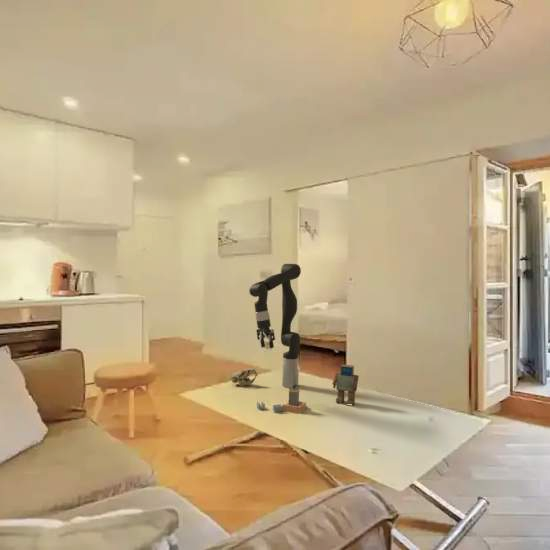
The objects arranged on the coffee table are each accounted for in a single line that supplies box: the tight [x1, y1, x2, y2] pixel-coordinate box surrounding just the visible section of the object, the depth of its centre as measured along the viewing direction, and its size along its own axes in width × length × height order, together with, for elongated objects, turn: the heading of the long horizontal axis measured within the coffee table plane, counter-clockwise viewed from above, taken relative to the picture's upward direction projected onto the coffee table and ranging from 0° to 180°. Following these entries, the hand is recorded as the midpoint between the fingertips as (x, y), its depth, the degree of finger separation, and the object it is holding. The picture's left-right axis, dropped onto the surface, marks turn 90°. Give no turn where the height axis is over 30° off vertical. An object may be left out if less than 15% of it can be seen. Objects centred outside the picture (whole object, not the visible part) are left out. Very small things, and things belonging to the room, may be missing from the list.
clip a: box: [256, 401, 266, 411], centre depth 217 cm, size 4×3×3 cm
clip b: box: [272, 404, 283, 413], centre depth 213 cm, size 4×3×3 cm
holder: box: [281, 399, 308, 414], centre depth 218 cm, size 11×11×3 cm
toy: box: [332, 364, 359, 404], centre depth 230 cm, size 13×10×20 cm
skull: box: [230, 368, 258, 387], centre depth 260 cm, size 10×16×10 cm, turn 88°
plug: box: [288, 384, 300, 406], centre depth 218 cm, size 4×4×12 cm
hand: (267, 347), depth 238 cm, fingers open, 8 cm apart
